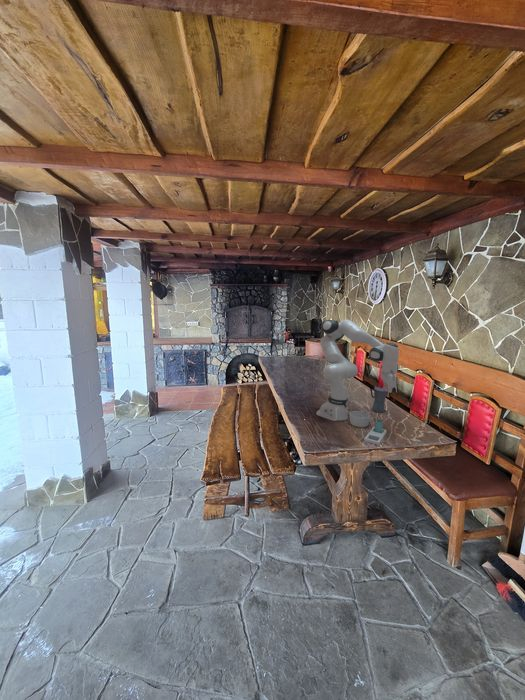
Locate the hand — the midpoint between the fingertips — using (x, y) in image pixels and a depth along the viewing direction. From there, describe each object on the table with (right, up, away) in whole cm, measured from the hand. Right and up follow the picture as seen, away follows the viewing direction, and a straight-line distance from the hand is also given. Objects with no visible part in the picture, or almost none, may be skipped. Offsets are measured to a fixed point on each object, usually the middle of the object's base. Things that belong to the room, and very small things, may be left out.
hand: (387, 390), depth 178 cm
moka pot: (+8, -21, +35) cm, 42 cm away
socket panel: (-11, -27, -8) cm, 31 cm away
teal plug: (-7, -26, -4) cm, 28 cm away
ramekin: (-15, -25, +10) cm, 31 cm away
